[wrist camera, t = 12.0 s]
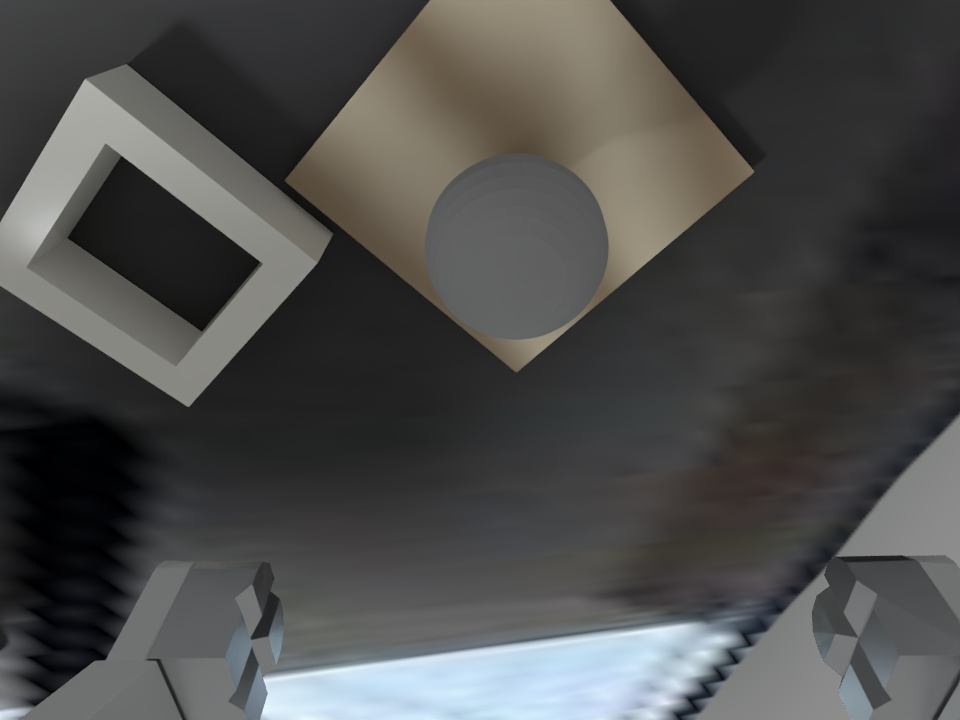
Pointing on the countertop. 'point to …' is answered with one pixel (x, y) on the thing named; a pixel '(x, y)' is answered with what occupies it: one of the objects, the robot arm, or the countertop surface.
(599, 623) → the countertop surface
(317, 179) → the board
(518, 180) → the light bulb
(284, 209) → the socket
